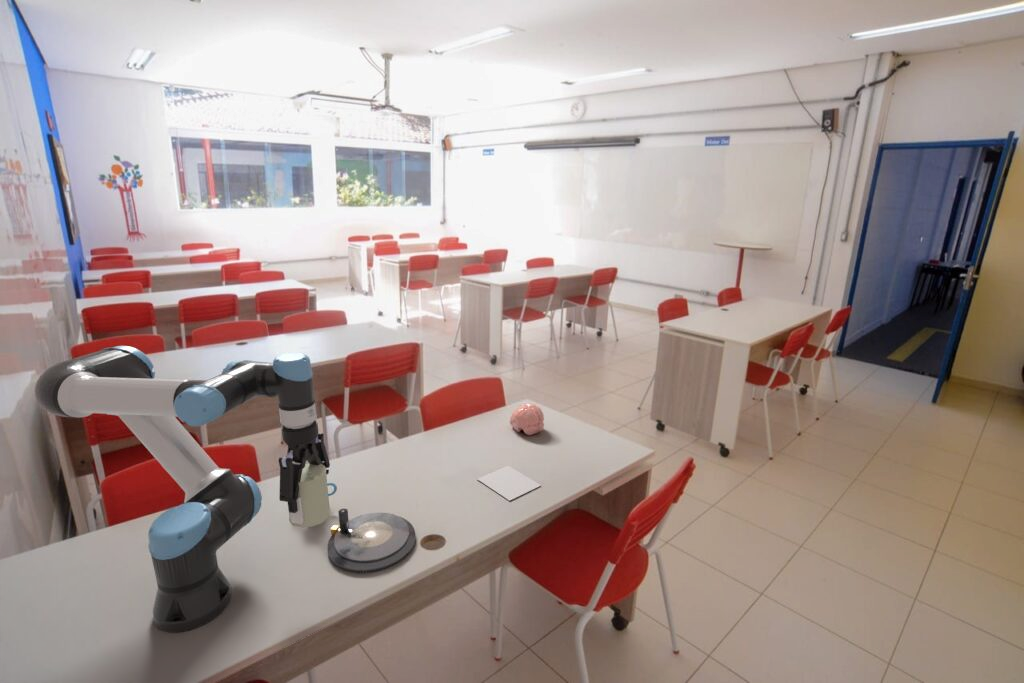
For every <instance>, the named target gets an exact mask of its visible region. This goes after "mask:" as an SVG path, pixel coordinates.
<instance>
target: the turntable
mask: <svg viewBox="0 0 1024 683" xmlns="http://www.w3.org/2000/svg"><path fill="white" fill-rule="evenodd" d="M401 517H402V516H399V515H396V514H394V513H389V512H370V513H365V514H362V515H359V516H356V517H354V518H352V519H350V520H349V511H348V509H347V508H341V509H339V510H338V522H339V524H338V526H339V527H340V528H339V529H338V531H337V532H336V534H335V537H334V547H335V551H336V553H337V554H338V555H339V556H340V557H341V558H343V559H345V560H347V561H350V562H354V563H372V562H378V561H381V560H384V559H387V558H389V557H391V556H393V555H395V554H396V553H398V552H399V551H400V550H401V549H402V548H403V547H404V546H405V545H406V543H407V541H408V538H409V527H408V525H407V523H406V522H405V521H404V520H403V519H402V518H403V517H402V518H401Z"/></svg>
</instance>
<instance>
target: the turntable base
mask: <svg viewBox="0 0 1024 683" xmlns="http://www.w3.org/2000/svg"><path fill="white" fill-rule="evenodd" d="M400 517H401V518H402V519H403V520H404V521H405V522H406V523H407V525H408V527H409V538H408V541H407V543H406V545H405V546H404V547H403V548H402V549H401V550H400V551H399V552H398V553H396V554H395V555H393V556H391V557H389V558H387V559H384V560H381V561H378V562H372V563H354V562H350V561H347V560H345V559H343V558H341V557H340V556H339V555H338V554H337V553H336V551H335V547H334V537H335V534H336V532H337V531H338V529H339V528H340V526H339V525H333V526H332V527H331V528H330V535H331V536H330V537H329V540H328V543H327V554H328V559H329V561H330V562H331V563H332V564H333V565H334V566H335V567H337V568H338V569H339V570H342V571H344V572H346V573H347V572H348V573H354V574H371V573H378V572H381V571H384V570H387V569H390V568H393V567H394V566H396V565H398V564H400V563H401V562H402V561H404V560H406V558H407V557H408V556H409V555H410V554H411V552H413V550H414V547H415V545H416V531H415V528H414V526H413V525H412V523H411V522H410V521H408V520H407V519H406V518H404V517H402V516H400Z"/></svg>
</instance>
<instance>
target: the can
mask: <svg viewBox="0 0 1024 683" xmlns="http://www.w3.org/2000/svg"><path fill="white" fill-rule="evenodd" d="M326 470H327V468H326V467H325V466H324V465H322V464H320V465H312V464H309V462H306V463H305V467H304V468H303V469H302V475H301V481H300V482H299V483H298V484H299V493H298V497H301V503H302V512H303V520H304V523H303V524H297V523H291V518H290V512H289V511H288V515H289V517H288V521H289V523H290V525H292V526H293V527H295V528H301V529H302V528H303V529H304V528H311V527H315V526H317V525H320V524H323V523H324V522H326V520H328V519H329V517H330V515H331V514H332V509H331V506H330V499H329V497H330V496H328V493H329V491H328V490H329V489H328V486H327V483H328V479H327V474H326Z"/></svg>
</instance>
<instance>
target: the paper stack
mask: <svg viewBox="0 0 1024 683" xmlns="http://www.w3.org/2000/svg"><path fill="white" fill-rule="evenodd" d="M477 480H478V481H479V482H481V483H482V484H483V485H485V486H487V487H488V488H490V489H491V490H493V491H494V492H496V493H498V494H499V495H500V496H502V497H503V498H505V499H507V501H512V500H514V499H516V498H518V497H520V496H522V495H524V494H527V493H528V492H530V491H533V490H535V489H537V488H539V487H541V486H542V484H540V483H538V482H537V481H535V480H533V479H531V478H530V477H528V476H526V475H524V474H523V473H521V472H519V471H518V470H516V469H514V468H513V467H511V466H509V465H506V466H503V467H502V468H499V469H497V470H495V471H492V472H490V473H487V474H485V475H482V476H480V477H478V478H477Z"/></svg>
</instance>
